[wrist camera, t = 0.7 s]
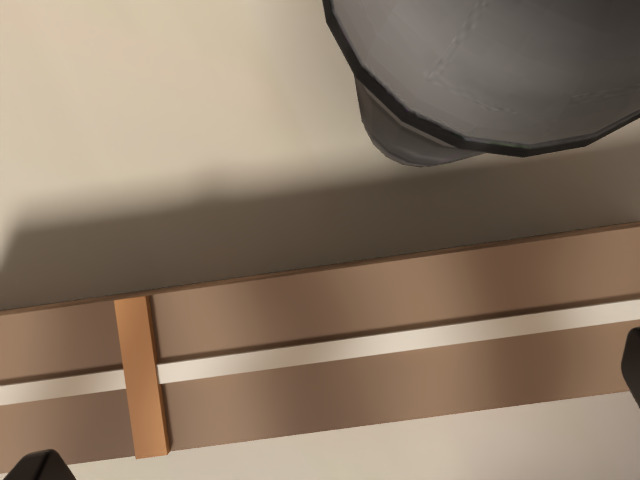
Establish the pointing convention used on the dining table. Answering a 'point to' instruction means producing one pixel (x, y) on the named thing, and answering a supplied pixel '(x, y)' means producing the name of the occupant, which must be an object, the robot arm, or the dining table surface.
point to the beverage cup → (489, 74)
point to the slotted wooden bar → (320, 347)
